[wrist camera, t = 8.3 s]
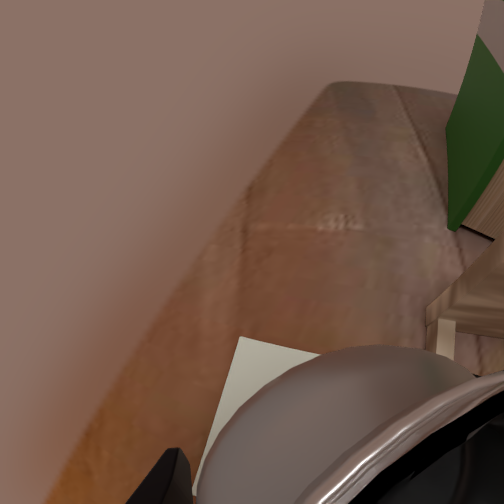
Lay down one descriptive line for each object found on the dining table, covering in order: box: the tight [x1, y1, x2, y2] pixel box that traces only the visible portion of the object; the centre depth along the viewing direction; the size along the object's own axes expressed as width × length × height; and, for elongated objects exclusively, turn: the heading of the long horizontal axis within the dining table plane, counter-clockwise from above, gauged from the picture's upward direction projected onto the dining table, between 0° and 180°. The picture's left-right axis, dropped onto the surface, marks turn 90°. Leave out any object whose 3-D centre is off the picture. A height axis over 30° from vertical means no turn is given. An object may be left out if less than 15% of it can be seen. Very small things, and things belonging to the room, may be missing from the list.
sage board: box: [192, 336, 319, 496], centre depth 17 cm, size 12×12×1 cm
